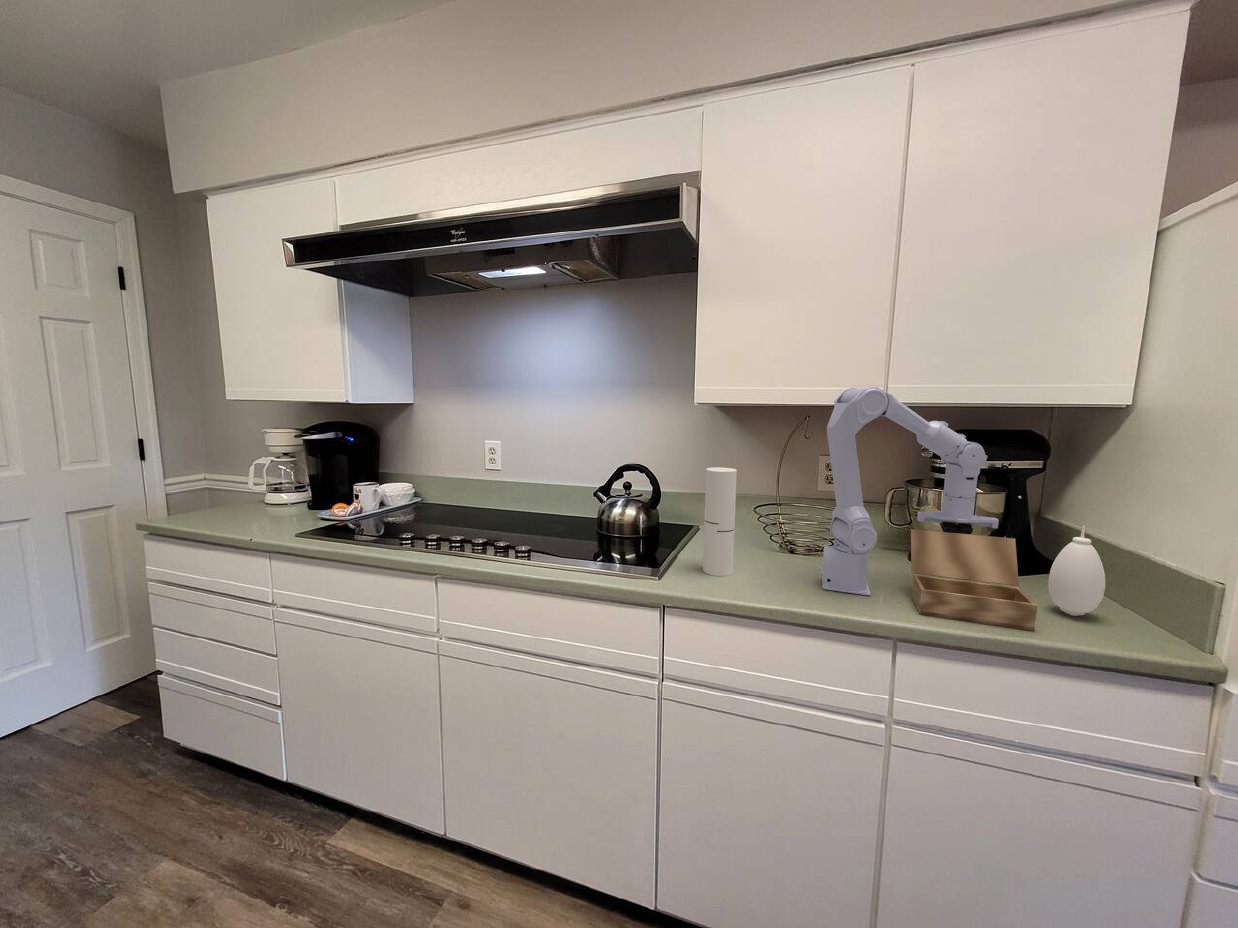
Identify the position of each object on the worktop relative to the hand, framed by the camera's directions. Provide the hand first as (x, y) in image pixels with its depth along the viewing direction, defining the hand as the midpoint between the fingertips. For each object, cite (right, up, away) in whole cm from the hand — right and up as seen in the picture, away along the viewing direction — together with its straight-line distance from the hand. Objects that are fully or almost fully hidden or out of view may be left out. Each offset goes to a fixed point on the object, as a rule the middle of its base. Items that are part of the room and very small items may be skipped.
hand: (952, 556), depth 107 cm
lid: (-3, +1, -7) cm, 7 cm away
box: (-5, -9, -12) cm, 16 cm away
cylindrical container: (-50, -6, +11) cm, 51 cm away
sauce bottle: (+15, -9, -12) cm, 21 cm away
